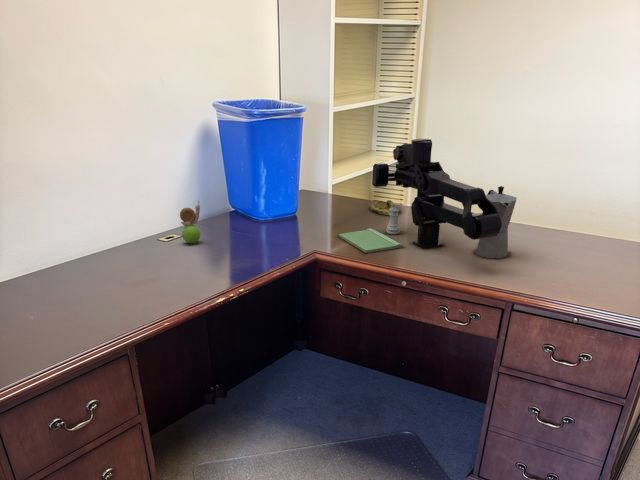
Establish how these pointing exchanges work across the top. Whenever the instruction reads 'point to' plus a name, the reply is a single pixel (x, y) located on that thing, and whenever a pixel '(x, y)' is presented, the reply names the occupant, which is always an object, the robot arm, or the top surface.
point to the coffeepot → (499, 243)
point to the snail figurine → (190, 224)
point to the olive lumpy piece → (382, 207)
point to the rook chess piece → (393, 221)
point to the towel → (370, 240)
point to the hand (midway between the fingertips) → (387, 170)
